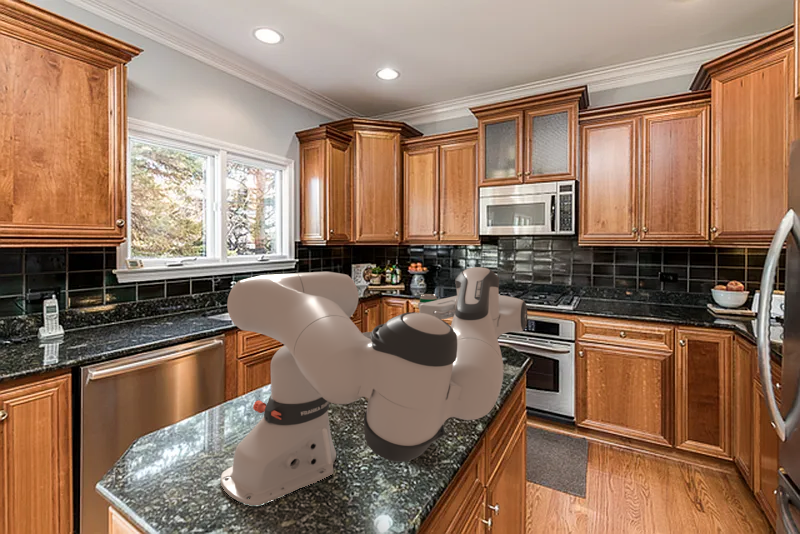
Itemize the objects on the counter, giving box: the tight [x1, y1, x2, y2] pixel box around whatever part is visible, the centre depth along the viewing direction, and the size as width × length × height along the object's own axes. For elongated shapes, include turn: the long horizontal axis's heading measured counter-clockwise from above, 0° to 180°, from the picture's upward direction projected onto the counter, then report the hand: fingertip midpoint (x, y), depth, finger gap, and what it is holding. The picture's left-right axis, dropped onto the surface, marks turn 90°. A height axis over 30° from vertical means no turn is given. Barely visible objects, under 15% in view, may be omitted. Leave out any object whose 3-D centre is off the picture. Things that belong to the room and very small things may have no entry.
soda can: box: [419, 293, 438, 303], centre depth 111 cm, size 5×5×12 cm
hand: (426, 303), depth 112 cm, fingers closed on soda can, 5 cm apart
